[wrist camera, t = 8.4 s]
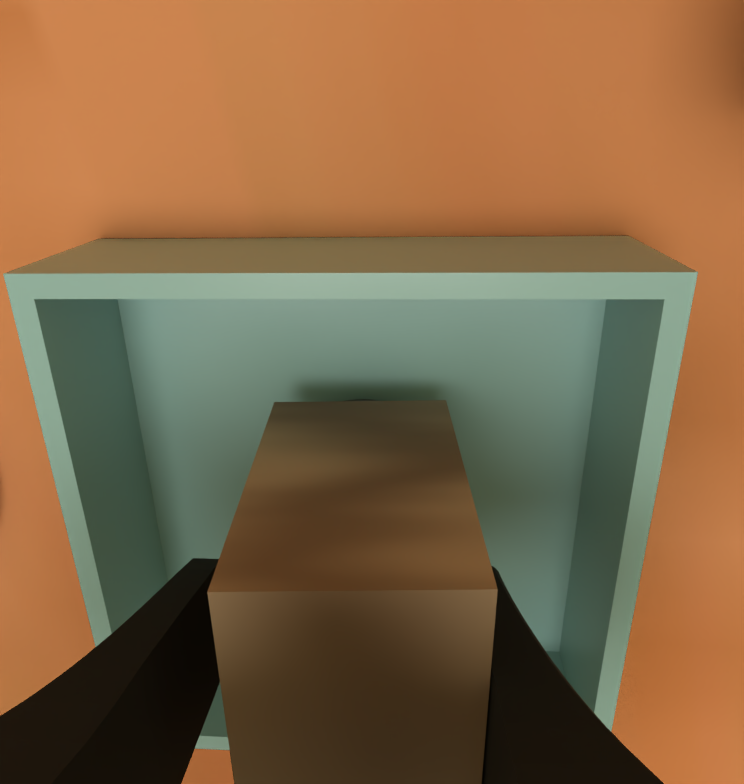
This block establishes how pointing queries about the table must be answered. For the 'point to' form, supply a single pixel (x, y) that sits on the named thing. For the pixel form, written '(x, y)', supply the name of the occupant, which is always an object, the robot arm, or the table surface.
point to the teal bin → (364, 381)
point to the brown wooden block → (355, 601)
